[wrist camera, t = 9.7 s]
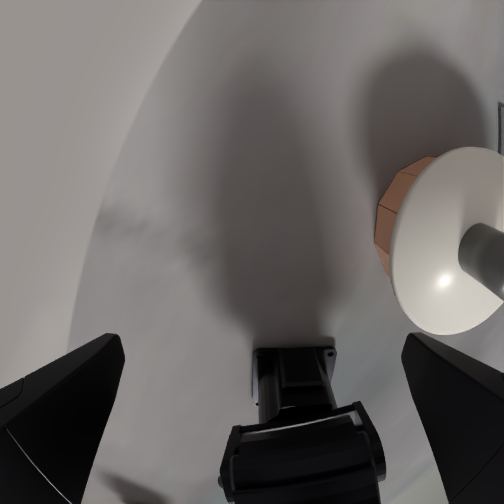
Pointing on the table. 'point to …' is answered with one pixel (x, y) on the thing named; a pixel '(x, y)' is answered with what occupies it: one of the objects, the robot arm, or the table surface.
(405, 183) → the bowl
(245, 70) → the table surface
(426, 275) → the lid
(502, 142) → the mat
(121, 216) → the table surface
